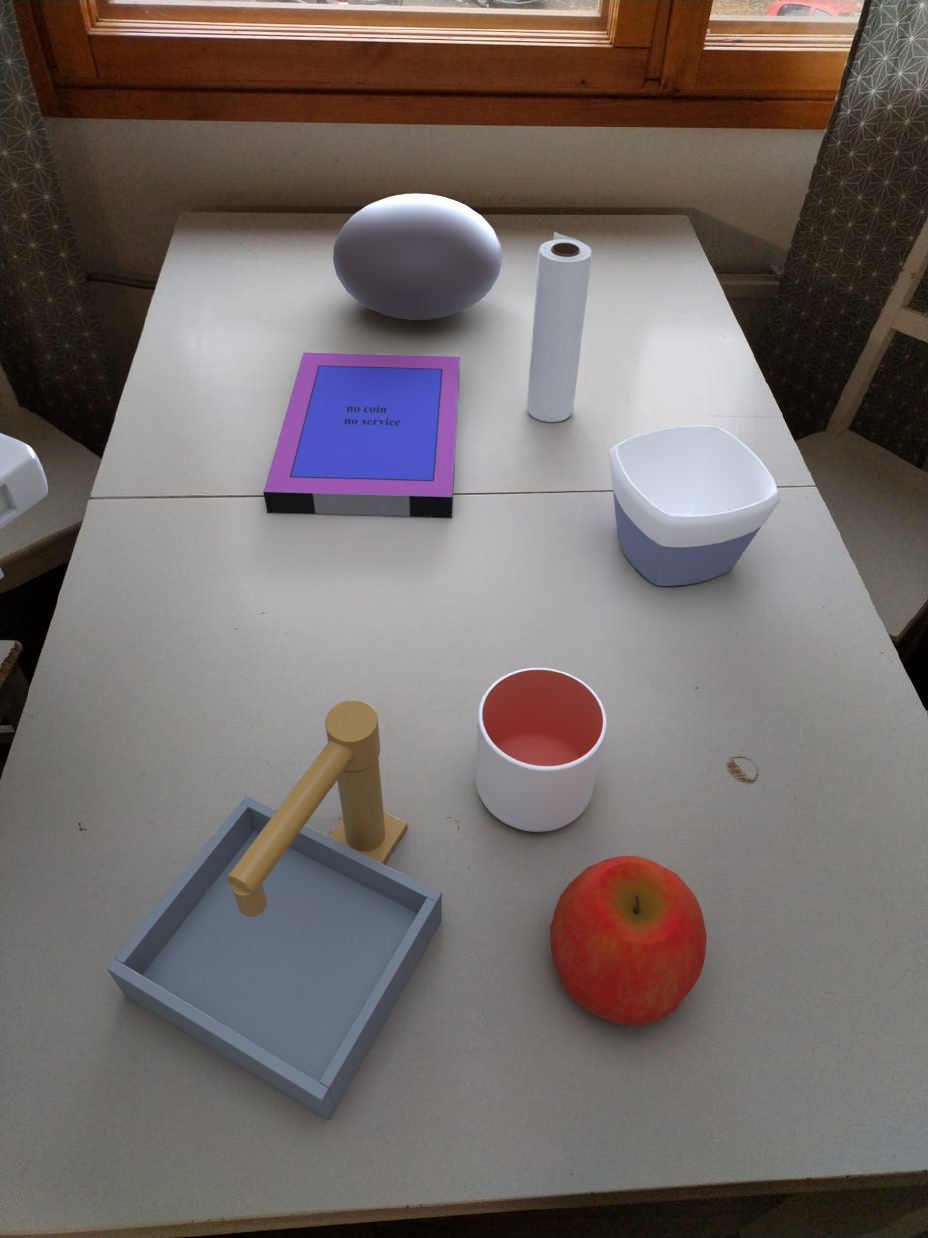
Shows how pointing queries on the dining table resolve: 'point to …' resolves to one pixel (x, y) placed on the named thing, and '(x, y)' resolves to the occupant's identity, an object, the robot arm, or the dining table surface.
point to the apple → (628, 940)
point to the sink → (282, 957)
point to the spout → (306, 798)
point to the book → (368, 437)
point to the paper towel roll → (557, 327)
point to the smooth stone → (417, 256)
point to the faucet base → (366, 815)
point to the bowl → (688, 501)
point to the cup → (538, 748)
